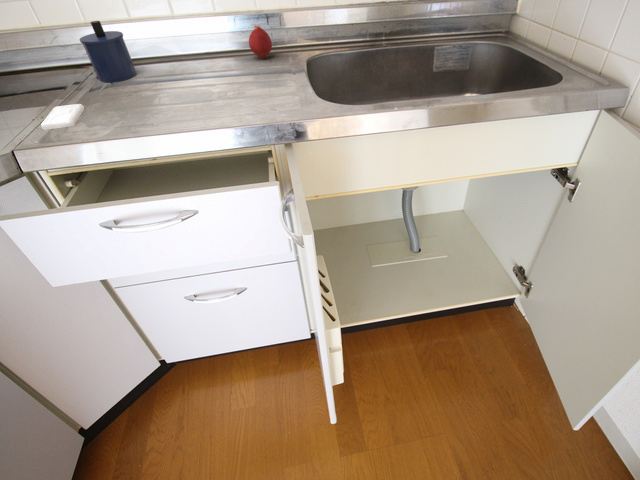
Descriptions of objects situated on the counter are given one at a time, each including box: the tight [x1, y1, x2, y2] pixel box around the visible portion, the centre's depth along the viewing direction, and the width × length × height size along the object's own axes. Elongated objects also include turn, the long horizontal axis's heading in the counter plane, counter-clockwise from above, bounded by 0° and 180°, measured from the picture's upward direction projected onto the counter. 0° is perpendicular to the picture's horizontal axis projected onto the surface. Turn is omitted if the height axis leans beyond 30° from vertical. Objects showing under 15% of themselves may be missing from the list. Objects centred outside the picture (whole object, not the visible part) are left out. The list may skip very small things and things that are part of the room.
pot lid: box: [79, 20, 124, 45], centre depth 92 cm, size 9×9×4 cm
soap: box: [40, 103, 85, 131], centre depth 76 cm, size 9×6×3 cm, turn 14°
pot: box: [81, 36, 137, 83], centre depth 96 cm, size 9×9×8 cm
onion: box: [248, 24, 273, 60], centre depth 102 cm, size 6×6×8 cm
